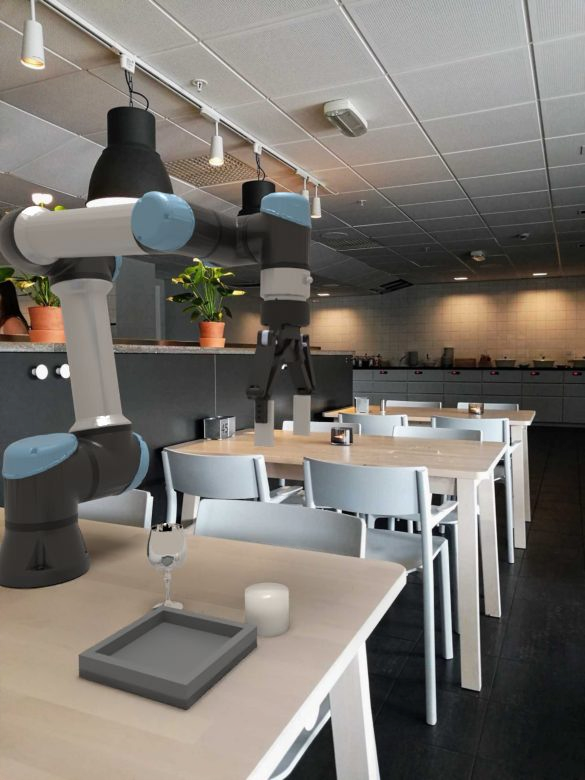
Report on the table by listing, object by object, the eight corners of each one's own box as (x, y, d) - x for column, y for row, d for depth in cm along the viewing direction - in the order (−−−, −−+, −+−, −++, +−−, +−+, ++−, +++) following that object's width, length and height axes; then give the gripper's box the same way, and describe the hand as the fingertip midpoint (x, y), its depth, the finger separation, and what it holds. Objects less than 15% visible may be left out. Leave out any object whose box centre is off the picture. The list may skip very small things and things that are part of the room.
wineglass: (153, 619, 81) (151, 535, 81) (143, 604, 86) (142, 525, 86) (192, 611, 84) (191, 529, 83) (181, 597, 89) (180, 520, 88)
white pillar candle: (236, 631, 78) (236, 595, 77) (258, 614, 83) (258, 579, 83) (276, 640, 75) (276, 602, 75) (296, 622, 80) (296, 586, 80)
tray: (79, 676, 66) (78, 654, 66) (162, 623, 80) (161, 605, 80) (186, 709, 60) (186, 685, 60) (257, 646, 73) (256, 626, 73)
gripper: (271, 289, 74) (270, 453, 76) (336, 306, 97) (335, 432, 98) (220, 292, 77) (220, 449, 79) (295, 308, 100) (294, 430, 101)
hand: (284, 440), depth 88 cm, fingers open, 13 cm apart
